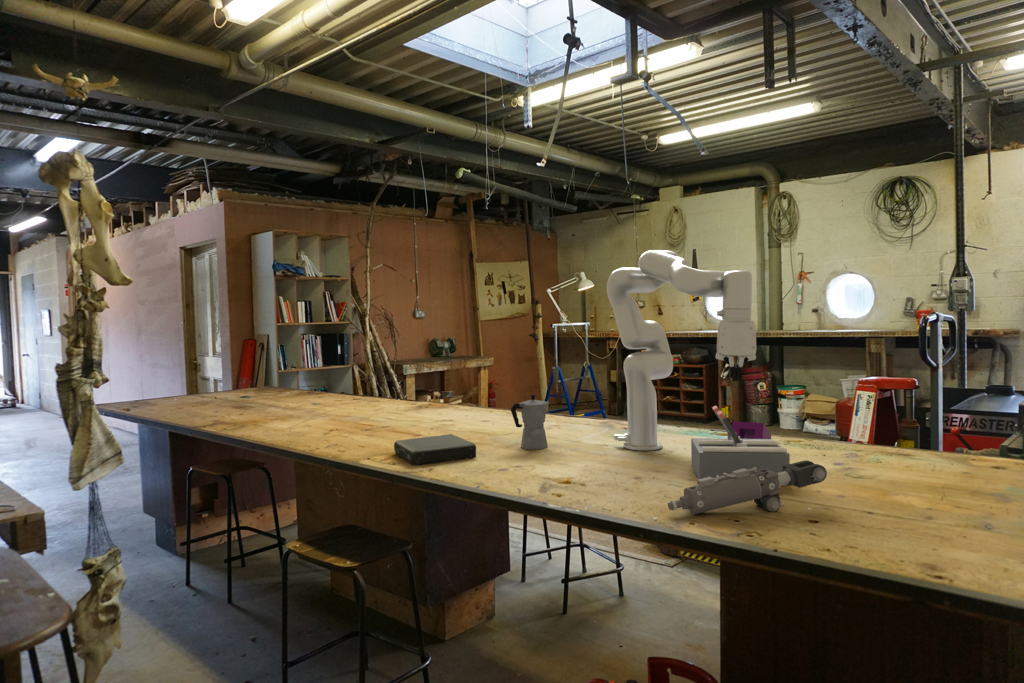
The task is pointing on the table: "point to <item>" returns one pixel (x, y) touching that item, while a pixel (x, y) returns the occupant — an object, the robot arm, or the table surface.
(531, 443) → the coffeepot
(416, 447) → the network switch
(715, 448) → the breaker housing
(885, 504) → the table surface
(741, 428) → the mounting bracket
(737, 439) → the lever
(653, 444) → the robot arm
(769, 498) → the hydraulic cylinder
